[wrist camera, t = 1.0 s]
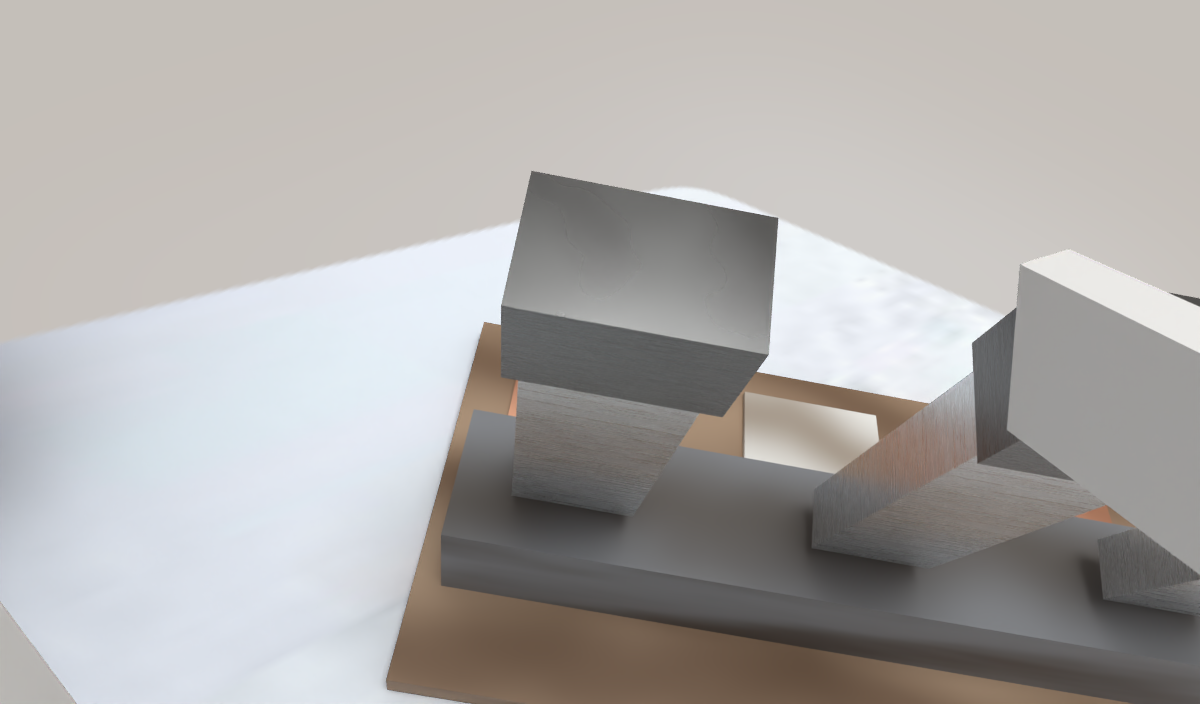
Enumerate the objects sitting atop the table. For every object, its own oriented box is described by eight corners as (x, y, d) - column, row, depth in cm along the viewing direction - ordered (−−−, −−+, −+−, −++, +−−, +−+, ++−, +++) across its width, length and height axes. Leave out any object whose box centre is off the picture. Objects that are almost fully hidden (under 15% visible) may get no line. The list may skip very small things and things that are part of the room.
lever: (640, 530, 27) (768, 354, 14) (499, 505, 27) (501, 305, 14) (650, 448, 28) (778, 217, 15) (516, 424, 28) (531, 171, 15)
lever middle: (938, 582, 27) (1326, 457, 15) (802, 558, 27) (1073, 411, 14) (936, 499, 29) (1295, 316, 16) (805, 476, 28) (1060, 272, 16)
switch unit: (1230, 828, 29) (1348, 798, 26) (387, 689, 28) (378, 636, 24) (1106, 449, 40) (1177, 388, 36) (483, 336, 39) (488, 259, 35)
